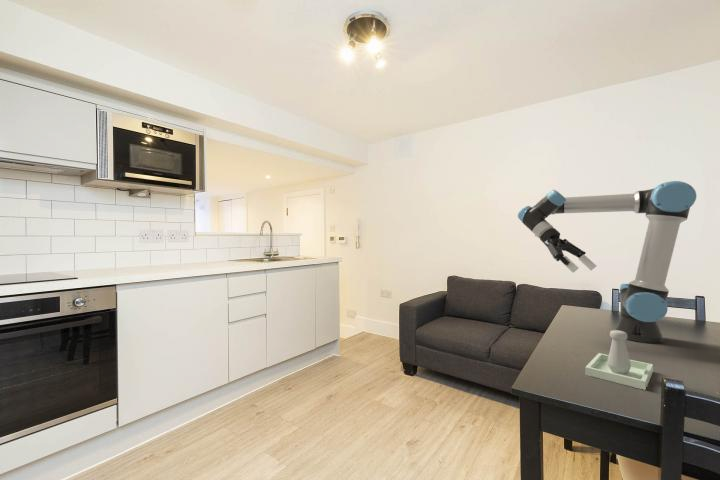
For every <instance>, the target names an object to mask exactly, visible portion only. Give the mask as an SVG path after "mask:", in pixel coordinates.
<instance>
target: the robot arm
mask: <svg viewBox="0 0 720 480" xmlns="http://www.w3.org/2000/svg"><path fill="white" fill-rule="evenodd" d="M696 200H697V192H696V190H695V188H694V187H693V186H692V185H691V184H689V183H687V182H684V181H680V180H670V181H665V182H663V183H660V184H658V185H657V186H655V187H654V188H651V189H646V190H637V191H635V192H634V193H622V194H618V193H617V194H605V195H604V194H603V195H590V196H589V195H586V196H569V197H565V196H564V195H562V194H561V193H560V192H559V191H558V190H556V189H552V190H551V191H549V192H548V193H547V194H546V195H545V196H544V197H543V198H542V199H540V200H539V201H538V202H537V203H536V204H535V205H534V206H531V205H527V206H525V207H523V208H521V209H520V210H519V211H518V213H517V218H518V219H519V220H520V222H522V224H523V225H524V226H525V227H526V228H528V230H530V231H531V232H532V233H533V234H534V236H535V237H537V238H538V239H539V240H540V241H541V242H542V243H543V244H544V245H545V246H546V248H547V249H548V251H549V253H550V254H551V256H552V258H553V259H554V260H555V261H556V262H561V263H562V264H563V265H564V266H565V267H566V268H567V269H568V270H569V271H570V272H572V273H576V271H578V269H579V266H578V265H577V264H575V263H574V262H573V261H572V260H571V259H570V258H569V257H568V256H567V255H565V254H564V252H567V253H570V254H571V255H572V256H575V257H577V258H578V260H579V261H580V262H581V263H582V264H583V265H585V267H587V269H588V270H589V271H592V270H594V269H595V268H596V267H597V264H595V263H594V262H593V261H592V260H591V259H590V258H588V256H586V255H585V254H586V251H584V250H582V249H581V248H579V247H578V246H576V245H575V244H574V243H572V242H570V241H569V240H568V239H566V238H564V239H562V238H560V236H561V233H560V232H559V231H558V230H557V229H556V228H555V227H554V226H553V225H552V224H551V223H550V222H549V221H547V220H546V219H547V218H548V217H550V215H556V214H579V213H581V214H584V213H609V212H610V213H614V212H617V213H618V212H634V213H636V214H644V215H645V217H646V218H647V220H648V225H647V228H646V229H647V230H646V233H645V236H644V237H645V238H644V242H643V245H642V249H641V254H640V257H639V261H638V266H637V269H636V271H637V272H636V274H635V278H634V280H633V279H632V281H629V283H622V284H620V287H619V292H620V293H619V295H620V296H619V297H620V300H619V302H620V304H619V305H620V306H619V307H620V318H619V320H618V324H617V327H616V328H615V330H619V331H623V332H625V333H627V340H629V341H633V342H638V343H645V344H646V343H647V344H649V343H650V344H658V343H663V342H664V335H663V334H662V333H661V332H662V331H661V329H660V326H659V324H658V322H659V321H660V320H663V318H665V317H666V315H667V314H668V304H667V300H668V296H669V292H670V290H669V289H668V288H667V287H666V281H667V276H668V273H669V269H670V265H671V261H672V258H673V253H674V249H675V245H676V241H677V238H678V234H679V229H680V225H681V224H682V223H683V222H685V221H688V217H689V214H690V211H691V207H693V205H694V204H695V202H696Z"/></svg>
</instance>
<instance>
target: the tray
mask: <svg viewBox="0 0 720 480" xmlns="http://www.w3.org/2000/svg"><path fill="white" fill-rule="evenodd" d="M608 356H609V354H604V353H601V352H598V353H597V354H596V355H595V356H594V357H593V358H592V359H591V361H590V362H588V363H587V364H586V366H585V369H584V370H585V373H584V375H585V376H589V377H592V378H597V379H601V380H604V381H608V382H613V383H615V384H616V383H617V384H619V385H624V386H628V387H631V388H636V389H639V390H642V389H643V390H642V391H646V389H647V388H648V385H649V382H650V380H651V378H652V375H653V373H654V364H652V363H648V362H644V361H638V360H633V359H630V358H629V360H630V364H631V368H630V370H629V372H628V374H626V375H622V374H617V373H614V372H612V371H611V369H610V367H609V366H608V364H607V361H608ZM646 387H647V388H646Z"/></svg>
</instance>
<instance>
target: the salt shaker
mask: <svg viewBox="0 0 720 480" xmlns="http://www.w3.org/2000/svg"><path fill="white" fill-rule="evenodd" d="M609 337H610V338H611V344H610V347H609V351H608V352H609V353H608V355H609V356H608V361H607V364H608V366H609V367H610V369H611V371H612V372H614V373H617V374H622V375H626V374H628V372H629V370H630V368H631V364H630V360H631V359H630V355H629V352H628V346H627V343H626V341H627V340H628V339H627V333H625V332H623V331H619V330H616V329H613V330H610V331H609ZM629 359H630V360H629Z"/></svg>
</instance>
